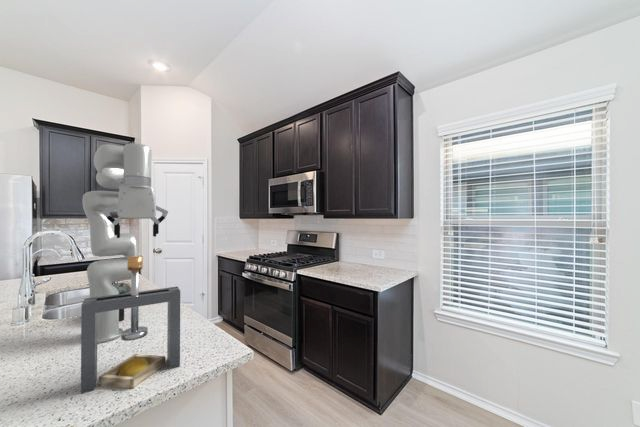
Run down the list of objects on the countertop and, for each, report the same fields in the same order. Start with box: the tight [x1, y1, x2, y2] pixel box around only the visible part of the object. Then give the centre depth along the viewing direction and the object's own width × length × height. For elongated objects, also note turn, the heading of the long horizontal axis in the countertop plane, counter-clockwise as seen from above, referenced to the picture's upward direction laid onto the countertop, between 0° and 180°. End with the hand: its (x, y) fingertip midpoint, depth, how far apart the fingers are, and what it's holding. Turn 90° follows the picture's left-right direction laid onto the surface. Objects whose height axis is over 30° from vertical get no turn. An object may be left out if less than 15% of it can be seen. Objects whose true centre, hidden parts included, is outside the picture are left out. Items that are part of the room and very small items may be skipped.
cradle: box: [98, 353, 166, 389], centre depth 87 cm, size 11×13×2 cm
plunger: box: [120, 255, 149, 342], centre depth 87 cm, size 7×7×25 cm
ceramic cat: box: [111, 281, 127, 322], centre depth 135 cm, size 20×6×20 cm, turn 48°
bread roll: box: [118, 358, 150, 377], centre depth 87 cm, size 8×9×4 cm
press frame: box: [80, 286, 181, 395], centre depth 87 cm, size 7×25×25 cm, turn 125°
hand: (137, 236), depth 88 cm, fingers open, 9 cm apart
